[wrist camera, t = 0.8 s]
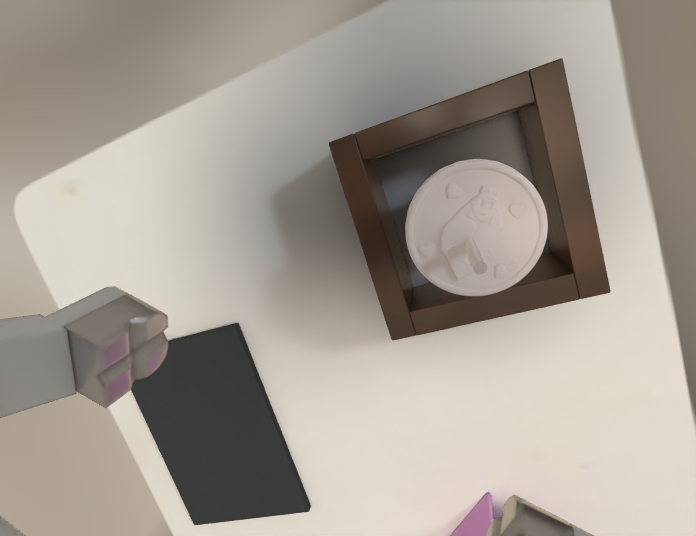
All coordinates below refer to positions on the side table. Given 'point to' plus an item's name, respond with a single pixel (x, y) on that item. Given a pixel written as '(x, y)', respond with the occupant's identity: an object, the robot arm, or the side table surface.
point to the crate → (551, 183)
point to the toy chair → (477, 519)
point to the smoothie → (476, 227)
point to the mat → (219, 430)
